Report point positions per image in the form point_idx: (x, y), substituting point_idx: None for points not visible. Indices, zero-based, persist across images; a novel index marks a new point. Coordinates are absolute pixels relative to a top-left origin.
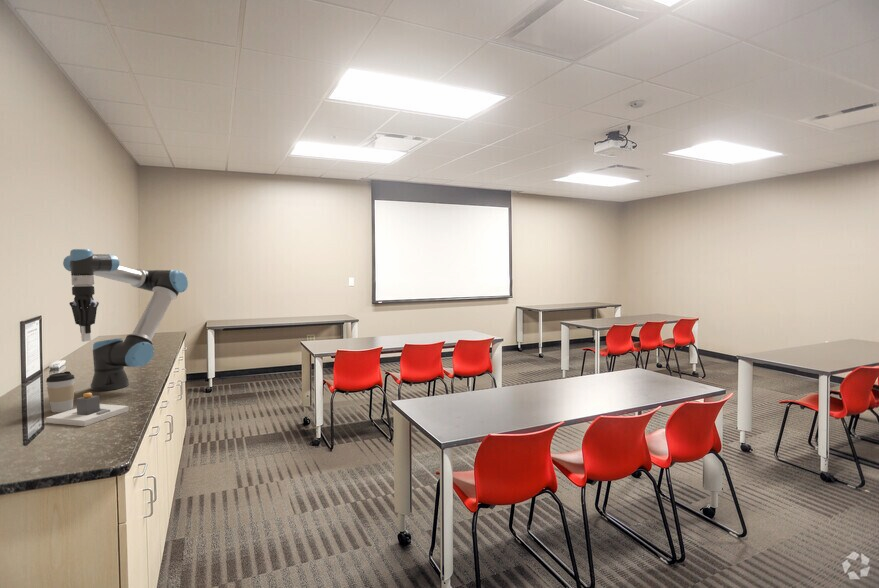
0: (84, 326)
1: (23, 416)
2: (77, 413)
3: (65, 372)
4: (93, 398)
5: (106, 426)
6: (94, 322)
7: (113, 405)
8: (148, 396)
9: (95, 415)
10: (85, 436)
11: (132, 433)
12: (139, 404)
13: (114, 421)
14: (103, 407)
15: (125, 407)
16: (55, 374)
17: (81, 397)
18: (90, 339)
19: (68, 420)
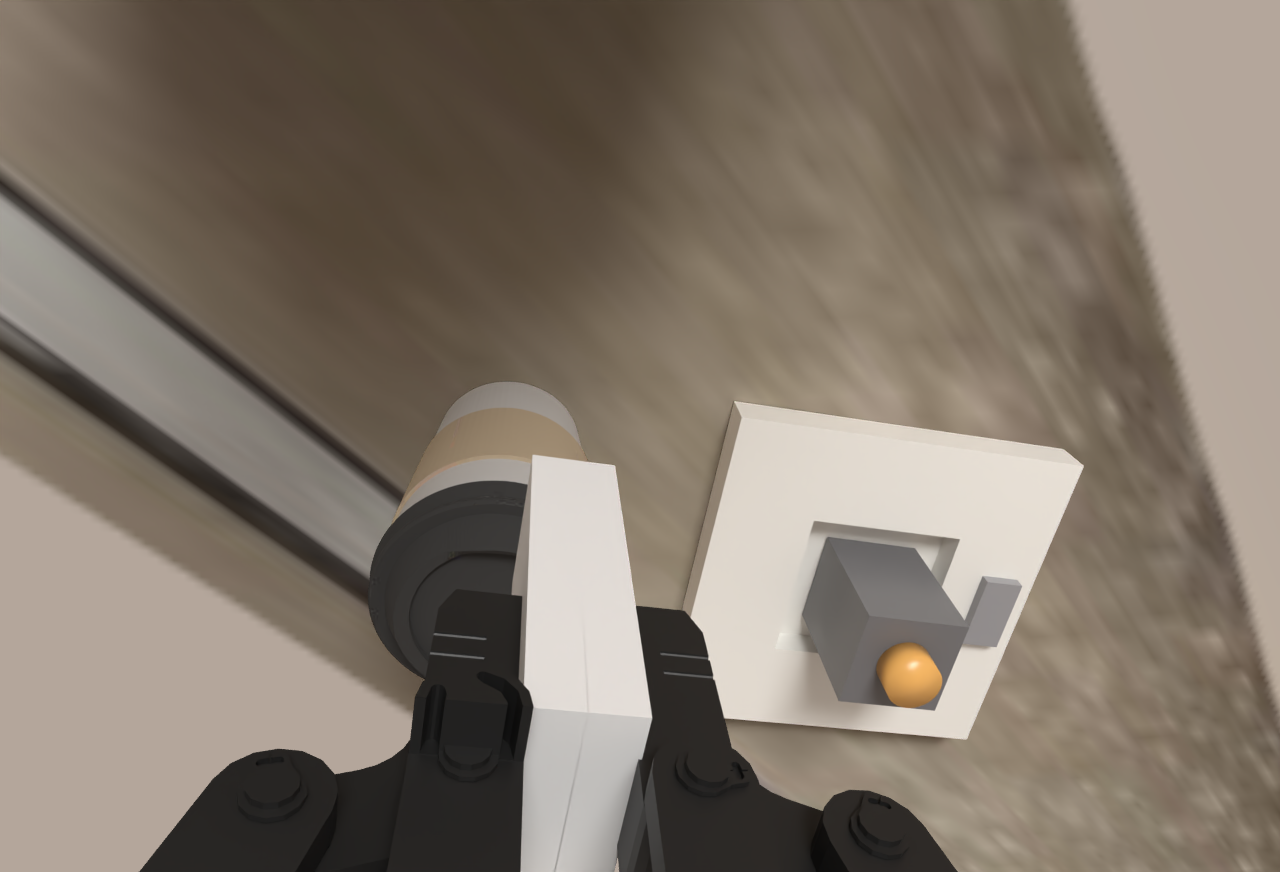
0: (616, 855)
1: (364, 598)
2: (810, 628)
3: (475, 552)
4: (950, 662)
5: (1080, 707)
6: (929, 854)
7: (957, 459)
8: (1022, 17)
9: (969, 658)
10: (1054, 824)
11: (1271, 774)
12: (1063, 286)
13: (1080, 637)
14: (911, 508)
15: (1071, 487)
16: (411, 603)
17: (854, 671)
18: (616, 479)
19: (843, 723)
